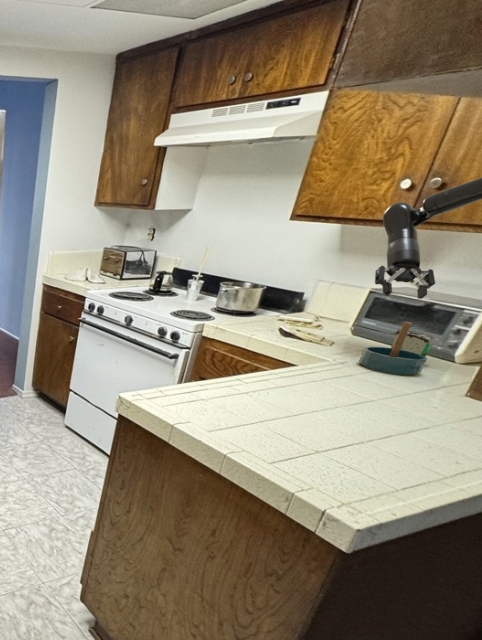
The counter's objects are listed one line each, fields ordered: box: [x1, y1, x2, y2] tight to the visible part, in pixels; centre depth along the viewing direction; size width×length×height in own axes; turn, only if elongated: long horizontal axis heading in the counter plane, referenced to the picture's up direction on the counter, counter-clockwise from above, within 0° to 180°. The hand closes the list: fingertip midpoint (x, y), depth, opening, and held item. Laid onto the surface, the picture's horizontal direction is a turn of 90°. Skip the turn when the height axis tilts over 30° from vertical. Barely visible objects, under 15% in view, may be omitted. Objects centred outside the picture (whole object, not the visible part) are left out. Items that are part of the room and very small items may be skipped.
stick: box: [389, 321, 413, 357], centre depth 151 cm, size 4×4×15 cm
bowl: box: [358, 346, 428, 376], centre depth 153 cm, size 15×15×6 cm
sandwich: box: [390, 328, 438, 357], centre depth 160 cm, size 12×6×10 cm, turn 179°
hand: (404, 295), depth 153 cm, fingers open, 8 cm apart
